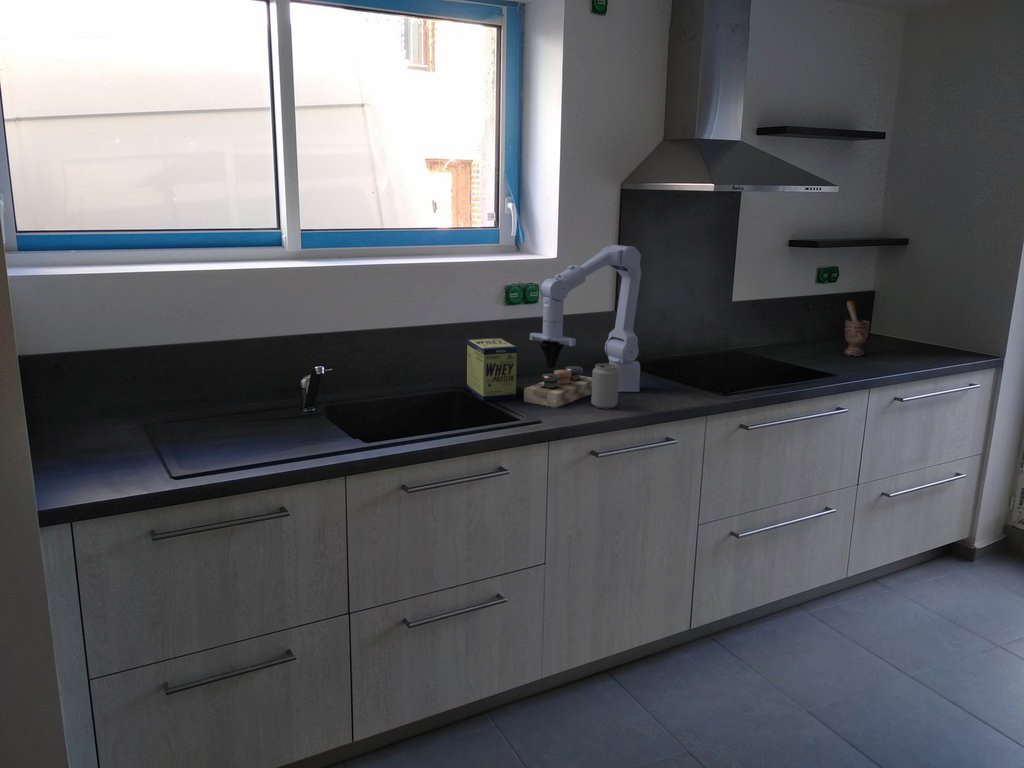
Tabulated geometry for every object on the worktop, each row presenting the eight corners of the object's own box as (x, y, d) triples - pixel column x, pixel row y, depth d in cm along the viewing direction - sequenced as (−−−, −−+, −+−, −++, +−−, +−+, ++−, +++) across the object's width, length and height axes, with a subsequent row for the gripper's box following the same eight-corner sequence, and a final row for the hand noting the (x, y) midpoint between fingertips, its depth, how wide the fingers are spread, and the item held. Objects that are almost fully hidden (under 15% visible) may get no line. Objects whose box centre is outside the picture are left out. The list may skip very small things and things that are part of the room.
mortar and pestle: (830, 352, 318) (836, 300, 314) (845, 350, 322) (851, 299, 318) (855, 357, 309) (861, 304, 304) (870, 355, 313) (877, 303, 308)
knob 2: (580, 380, 252) (581, 366, 251) (583, 384, 247) (583, 370, 246) (563, 380, 252) (564, 366, 251) (565, 384, 247) (566, 369, 245)
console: (567, 385, 257) (567, 373, 257) (598, 391, 251) (598, 378, 250) (523, 401, 238) (524, 388, 237) (556, 407, 232) (556, 394, 231)
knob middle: (569, 384, 247) (570, 369, 246) (572, 388, 242) (572, 373, 241) (552, 384, 246) (553, 369, 245) (554, 388, 241) (555, 373, 240)
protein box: (483, 401, 238) (483, 348, 234) (466, 389, 252) (466, 338, 248) (516, 398, 241) (517, 346, 238) (498, 386, 255) (498, 337, 252)
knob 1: (558, 388, 242) (559, 373, 241) (560, 392, 237) (561, 377, 236) (540, 388, 241) (541, 373, 240) (542, 392, 236) (543, 377, 235)
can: (602, 401, 240) (604, 361, 237) (622, 406, 235) (625, 365, 232) (585, 405, 235) (587, 364, 232) (606, 411, 230) (608, 369, 227)
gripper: (524, 319, 237) (523, 365, 240) (567, 325, 229) (565, 373, 232) (537, 316, 243) (536, 361, 246) (580, 322, 235) (578, 369, 238)
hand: (551, 367), depth 239 cm, fingers closed
